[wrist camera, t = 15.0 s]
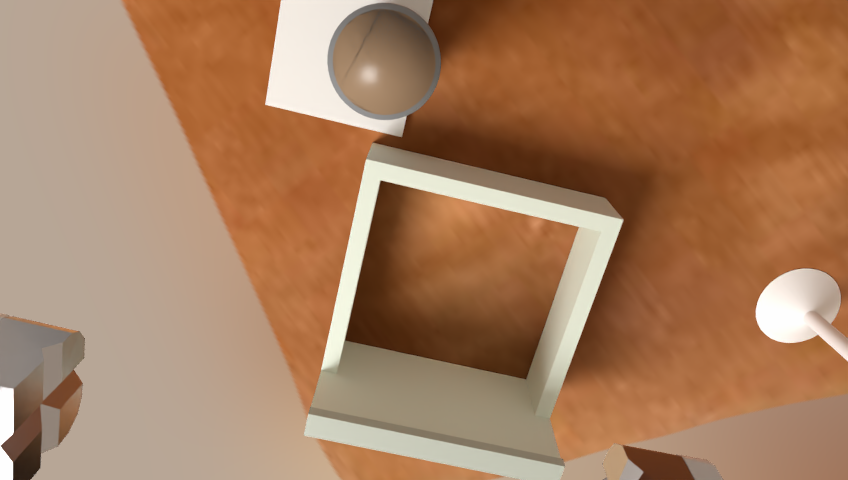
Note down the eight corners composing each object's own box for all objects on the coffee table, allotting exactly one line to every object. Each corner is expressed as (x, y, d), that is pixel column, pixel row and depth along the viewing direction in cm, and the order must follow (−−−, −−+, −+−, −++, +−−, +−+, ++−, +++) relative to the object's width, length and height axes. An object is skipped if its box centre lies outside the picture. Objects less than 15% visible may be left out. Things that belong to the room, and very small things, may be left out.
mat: (289, -44, 44) (287, -44, 43) (434, -7, 44) (434, -6, 44) (267, 103, 47) (265, 104, 47) (402, 135, 48) (401, 137, 47)
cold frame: (372, 142, 48) (356, 183, 38) (605, 197, 49) (649, 251, 39) (327, 352, 55) (303, 435, 44) (534, 396, 56) (557, 486, 46)
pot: (358, -12, 44) (341, -12, 35) (450, 15, 44) (454, 21, 36) (337, 82, 46) (316, 103, 38) (425, 106, 47) (423, 132, 38)
